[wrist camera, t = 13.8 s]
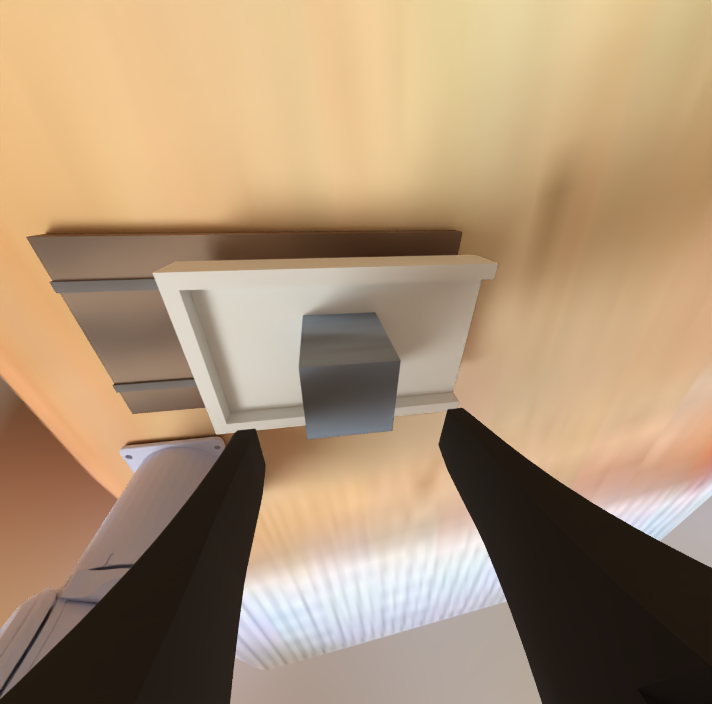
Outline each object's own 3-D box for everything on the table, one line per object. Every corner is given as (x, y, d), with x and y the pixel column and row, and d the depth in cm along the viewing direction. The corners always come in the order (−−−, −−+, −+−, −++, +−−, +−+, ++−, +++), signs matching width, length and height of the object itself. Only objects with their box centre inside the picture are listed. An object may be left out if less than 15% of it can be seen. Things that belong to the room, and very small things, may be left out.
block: (372, 370, 17) (392, 430, 12) (308, 375, 16) (307, 439, 12) (375, 312, 15) (400, 360, 10) (302, 315, 14) (298, 367, 10)
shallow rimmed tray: (437, 380, 21) (456, 410, 18) (230, 398, 19) (216, 434, 16) (465, 250, 16) (498, 263, 13) (185, 256, 14) (152, 272, 11)
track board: (426, 380, 23) (432, 388, 22) (140, 404, 20) (130, 415, 19) (454, 230, 17) (463, 232, 16) (43, 234, 14) (22, 237, 13)
